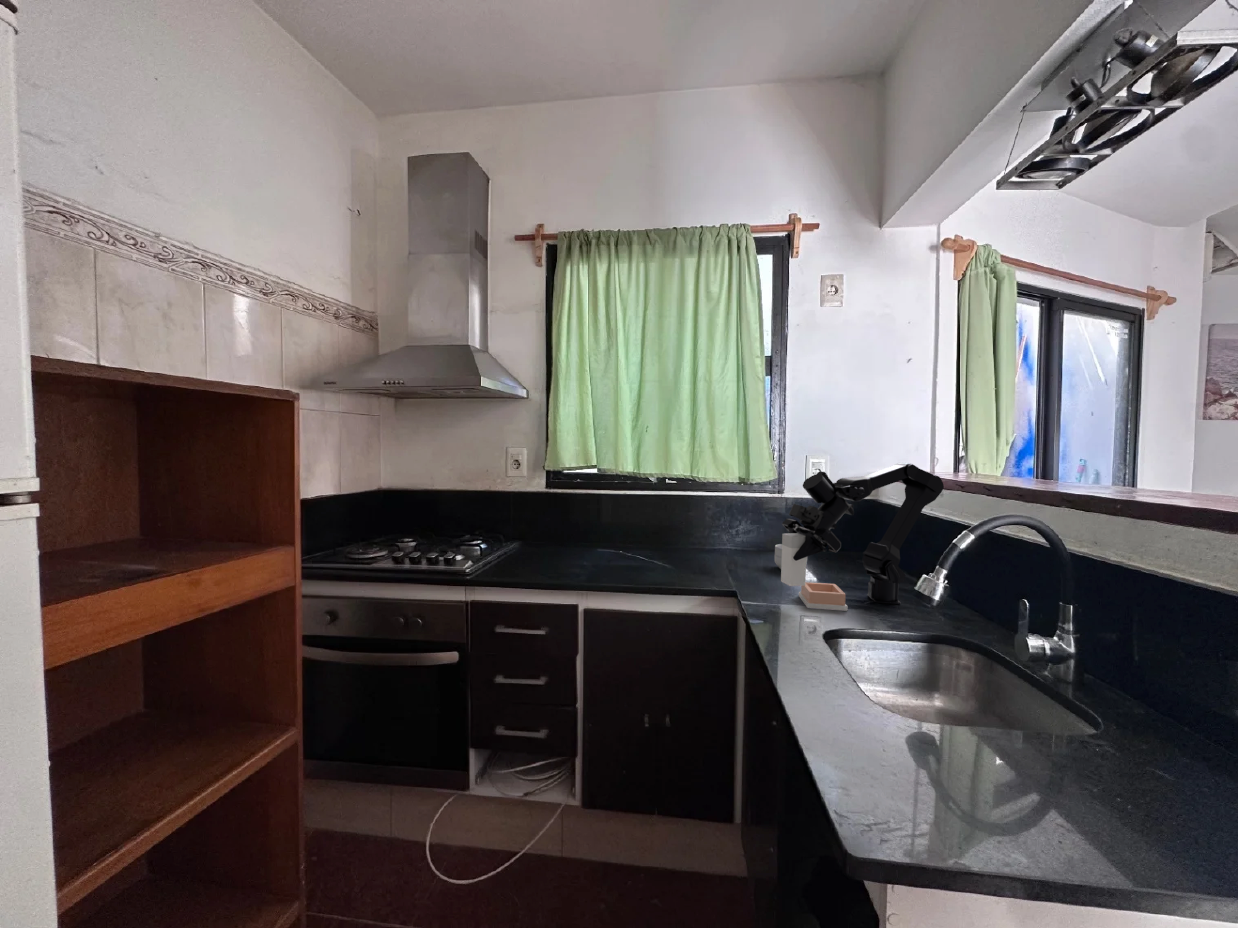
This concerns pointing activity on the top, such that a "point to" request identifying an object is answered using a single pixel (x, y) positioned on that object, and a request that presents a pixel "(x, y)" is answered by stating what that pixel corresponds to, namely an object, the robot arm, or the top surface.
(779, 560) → the teacup
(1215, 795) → the top surface
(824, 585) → the socket
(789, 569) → the plug
